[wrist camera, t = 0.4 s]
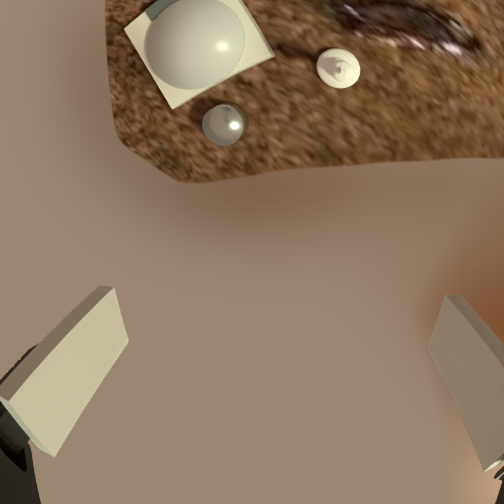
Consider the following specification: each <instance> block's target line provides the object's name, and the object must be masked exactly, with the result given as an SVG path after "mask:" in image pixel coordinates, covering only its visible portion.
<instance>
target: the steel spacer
mask: <svg viewBox="0 0 504 504" xmlns="http://www.w3.org/2000/svg"><path fill="white" fill-rule="evenodd" d="M248 124H249V119H248V115H247V113H246V111H245V110H244V109H243V108H242V107H241V106H240V105H238V104H236V103H233V102H224V103H221V104H219V105H217V106H216V107H214V108H212V109H210V110H209V111H208V112H207V113H206V114H205V116H204V118H203V121H202V129H203V132H204V134H205V136H206V137H207V138H208V139H209V140H210V141H211V142H212V143H214V144H217V145H221V146H226V145H230V144H233V143H234V142H236V141H237V140H238V139H239V138H240V137H241V136H242V135H243V134H244V133H245V131H246V130H247V128H248Z"/></svg>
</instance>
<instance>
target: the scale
mask: <svg viewBox="0 0 504 504" xmlns="http://www.w3.org/2000/svg"><path fill="white" fill-rule="evenodd" d="M124 30H125V32H126V34H127V35H128V37H129V38H130V40H131V42H132V43H133V45H134V47H135V48H136V50H137V52H138V53H139V55H140V57H141V58H142V60H143V62H144V63H145V65H146V67H147V68H148V70H149V72H150V73H151V75H152V77H153V78H154V80H155V82H156V83H157V85H158V87H159V88H160V90H161V92H162V93H163V95H164V97H165V98H166V100H167V102H168V103H169V105H170V107H171V108H172V109H174V108H176V107H179V106H181V105H182V104H184V103H185V102H187V101H189V100H190V99H192V98H194V97H195V96H197V95H199V94H201V93H202V92H204V91H206V90H208V89H209V88H211V87H213V86H215V85H217V84H219V83H220V82H222V81H224V80H226V79H228V78H230V77H232V76H234V75H236V74H238V73H240V72H242V71H244V70H246V69H248V68H250V67H252V66H254V65H257V64H259V63H261V62H263V61H265V60H268V59H270V58H272V57H275V54H274V53H273V51H272V49H271V47H270V46H269V44H268V42H267V40H266V39H265V37H264V35H263V34H262V32H261V30H260V28H259V27H258V25H257V24H256V22H255V20H254V19H253V17H252V15H251V14H250V12H249V11H248V9H247V8H246V6H245V5H244V3H243V1H242V0H158V1H156V2H155V3H154V4H152V5H151V6H150V7H148V8H147V9H146V10H145V12H144V13H142V14H141V15H140V16H139V17H137V18H136V19H135V20H134V21H133V22H131V23H130V24H129V25H128V26H127V27H126V28H125V29H124Z"/></svg>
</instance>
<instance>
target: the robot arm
mask: <svg viewBox="0 0 504 504" xmlns="http://www.w3.org/2000/svg"><path fill="white" fill-rule="evenodd" d="M128 342H129V341H128V337H127V334H126V331H125V327H124V324H123V320H122V316H121V313H120V309H119V305H118V301H117V297H116V293H115V289H114V287H108V286H99V287H97V288H96V289H95V290H94V291H93V292H92V293H91V294H90V295H89V296H87V297H86V298H85V299H84V300H83V301H82V302H81V303H80V304H79V305H78V306H77V307H76V308H75V309H73V310H72V311H71V312H70V313H69V314H68V315H67V316H66V317H65V318H64V319H63V320H62V321H61V322H60V323H59V324H58V325H57V326H56V327H55V328H54V329H53V330H52V331H51V332H50V333H49V334H48V335H47V336H46V337H45V338H44V339H43V340H42V341H41V342H40V343H39V344H37V345H35V346H34V347H32V348H31V349H29V350H28V351H27V352H26V353H25V354H24V355H23V356H22V357H21V360H18V362H17V363H16V364H15V366H14V367H12V368H11V369H10V370H9V371H8V373H6V375H5V376H4V377H3V378H2V379H1V380H0V504H41V502H40V498H39V493H38V488H37V483H36V478H35V473H34V467H33V460H32V453H31V448H30V445H29V444H28V443H27V442H28V441H29V439H31V440H32V441H33V442H34V443H35V444H36V446H38V448H39V449H41V450H43V451H44V452H46V453H48V454H50V455H51V456H53V457H55V456H56V454H57V452H58V451H59V449H60V447H61V445H62V444H63V442H64V441H65V439H66V437H67V436H68V434H69V432H70V431H71V429H72V427H73V426H74V424H75V423H76V421H77V419H78V418H79V416H80V414H81V413H82V411H83V410H84V408H85V407H86V405H87V403H88V402H89V400H90V399H91V397H92V396H93V394H94V393H95V391H96V389H97V388H98V386H99V385H100V383H101V382H102V380H103V379H104V377H105V376H106V374H107V373H108V371H109V370H110V368H111V367H112V365H113V364H114V362H115V361H116V359H117V358H118V356H119V355H120V354H121V352H122V351H123V349H124V348H125V346H126V345H127V343H128ZM427 352H428V353H429V355H430V357H431V359H432V361H433V362H434V364H435V366H436V368H437V370H438V372H439V373H440V375H441V377H442V379H443V381H444V383H445V385H446V387H447V389H448V391H449V393H450V395H451V397H452V399H453V401H454V403H455V405H456V407H457V409H458V411H459V414H460V416H461V418H462V420H463V422H464V424H465V427H466V429H467V431H468V434H469V436H470V438H471V441H472V443H473V445H474V448H475V450H476V453H477V456H478V458H479V460H480V463H481V466H482V469H483V472H485V471H487V470H489V469H491V468H493V467H495V466H497V465H499V464H500V463H501V462H502V461H503V460H504V345H503V343H502V342H501V341H500V340H499V339H498V338H497V336H496V335H495V334H494V332H492V330H491V329H490V328H489V327H488V325H487V324H486V323H485V322H484V321H483V320H482V319H481V318H480V316H479V315H478V314H477V313H476V312H475V311H474V310H473V309H472V308H471V306H470V305H469V304H467V302H466V301H465V300H464V299H463V298H462V297H461V296H460V295H459V294H451V295H445V297H444V300H443V303H442V307H441V310H440V313H439V316H438V319H437V322H436V325H435V327H434V330H433V333H432V336H431V339H430V341H429V344H428V347H427ZM503 472H504V466H503V467H502V468H501V469H500V470H499V471H498V472H497V473H496V475H495V476H494V478H495V479H496V478H497V477H498V476H500V475H501V474H502V473H503ZM499 480H502V484H501V488H500V491H499V494H498V497H497V500H496V503H495V504H504V474H503V475H502V476H501V477H500V478H499Z"/></svg>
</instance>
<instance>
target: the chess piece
mask: <svg viewBox="0 0 504 504" xmlns="http://www.w3.org/2000/svg"><path fill="white" fill-rule="evenodd" d="M317 72H318V74H319V76H320V78H321V79H322V80H323V81H324V82H325V83H326V84H328V85H329V86H332V87H335V88H346V87H349V86H351V85H353V84H354V83H355V82H356V81H357V79H358V77H359V74H360V66H359V63H358V61H357V59H356V58H355V57H354V56H353V55H352V54H351V53H350V52H348V51H346V50H343V49H339V48H334V49H329V50H327V51H325V52H323V53H322V54H321V55H320V57H319V58H318V61H317Z"/></svg>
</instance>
